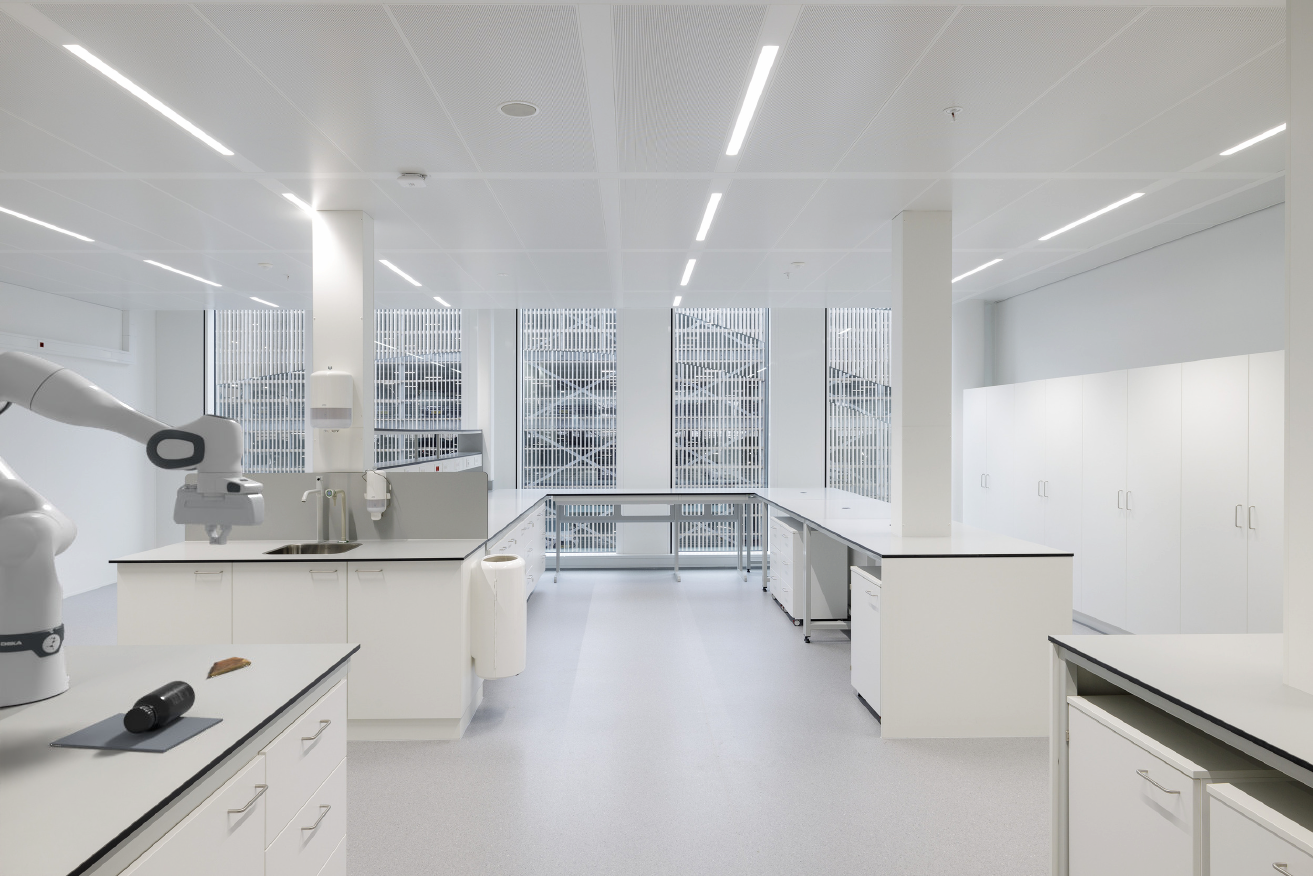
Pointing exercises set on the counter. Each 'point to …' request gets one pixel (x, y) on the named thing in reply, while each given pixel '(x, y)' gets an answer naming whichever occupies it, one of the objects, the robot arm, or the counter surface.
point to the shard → (228, 665)
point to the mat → (118, 737)
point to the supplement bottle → (159, 707)
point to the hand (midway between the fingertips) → (218, 544)
